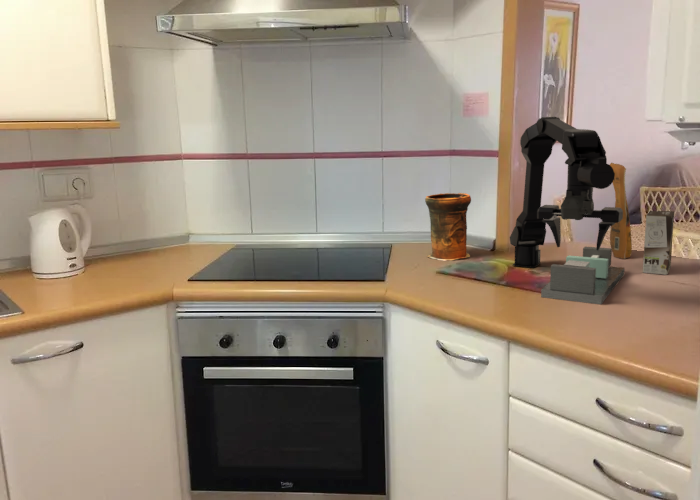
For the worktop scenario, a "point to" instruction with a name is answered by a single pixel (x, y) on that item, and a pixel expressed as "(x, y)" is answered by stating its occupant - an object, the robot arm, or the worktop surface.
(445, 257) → the vessel
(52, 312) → the worktop surface
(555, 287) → the press
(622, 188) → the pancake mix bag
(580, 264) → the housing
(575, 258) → the ram
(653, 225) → the coffee box
